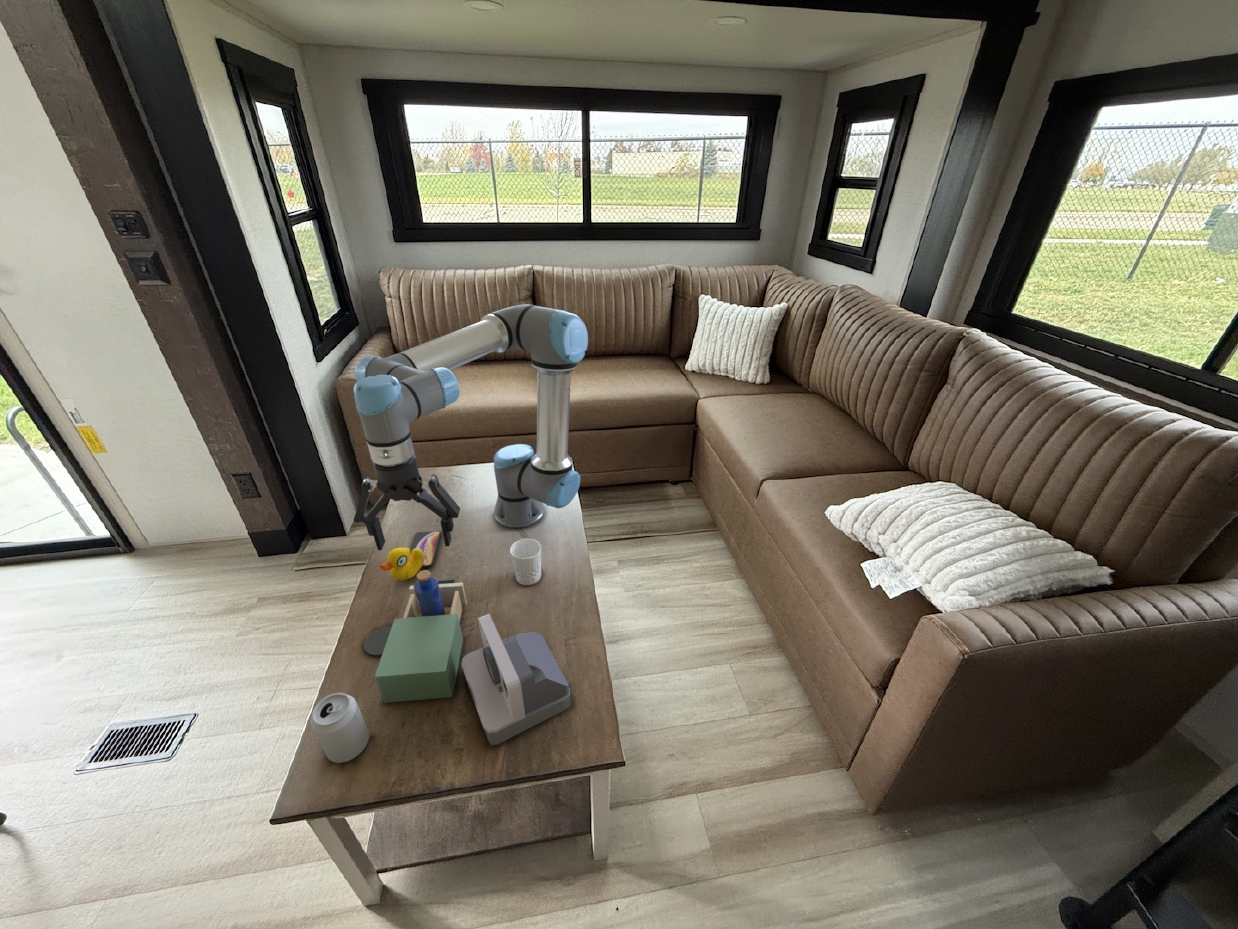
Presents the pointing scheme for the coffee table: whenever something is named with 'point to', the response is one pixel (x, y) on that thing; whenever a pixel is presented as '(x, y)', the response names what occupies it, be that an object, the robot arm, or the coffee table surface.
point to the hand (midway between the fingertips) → (415, 544)
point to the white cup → (526, 561)
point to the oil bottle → (428, 595)
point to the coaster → (377, 641)
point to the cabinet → (420, 658)
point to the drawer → (450, 595)
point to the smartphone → (426, 545)
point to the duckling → (403, 563)
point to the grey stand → (514, 682)
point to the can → (339, 727)
